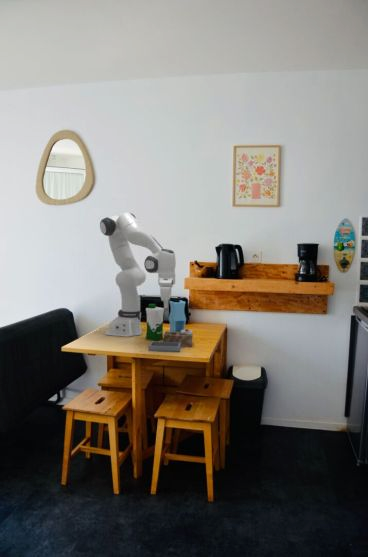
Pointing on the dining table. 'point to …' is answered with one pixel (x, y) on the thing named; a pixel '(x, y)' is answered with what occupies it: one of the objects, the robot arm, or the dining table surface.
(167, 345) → the tray
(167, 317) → the lock pin
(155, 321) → the milk carton
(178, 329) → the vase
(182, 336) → the tensioner block
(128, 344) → the dining table surface
